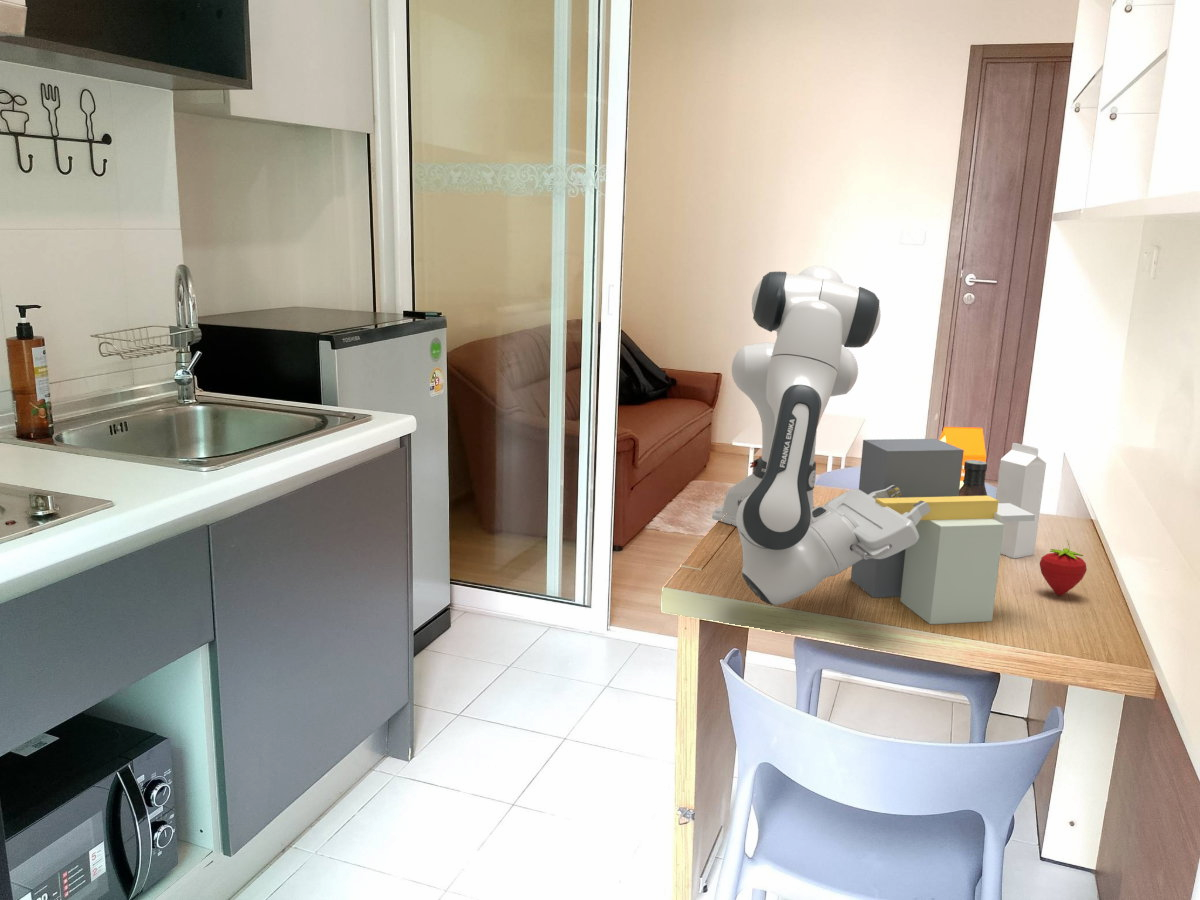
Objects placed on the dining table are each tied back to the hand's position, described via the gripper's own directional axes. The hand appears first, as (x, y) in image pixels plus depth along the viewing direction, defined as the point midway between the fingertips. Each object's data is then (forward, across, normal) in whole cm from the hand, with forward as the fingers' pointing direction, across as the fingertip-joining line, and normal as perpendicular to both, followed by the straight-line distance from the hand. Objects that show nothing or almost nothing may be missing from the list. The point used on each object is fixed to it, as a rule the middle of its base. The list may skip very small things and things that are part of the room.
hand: (912, 497), depth 154 cm
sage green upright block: (-3, 0, +21) cm, 22 cm away
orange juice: (+26, +55, +38) cm, 72 cm away
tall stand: (-5, +12, +20) cm, 24 cm away
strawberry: (+18, +4, +34) cm, 39 cm away
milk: (+23, +27, +37) cm, 51 cm away
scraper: (+4, 0, +7) cm, 8 cm away
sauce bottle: (+12, +23, +30) cm, 40 cm away
